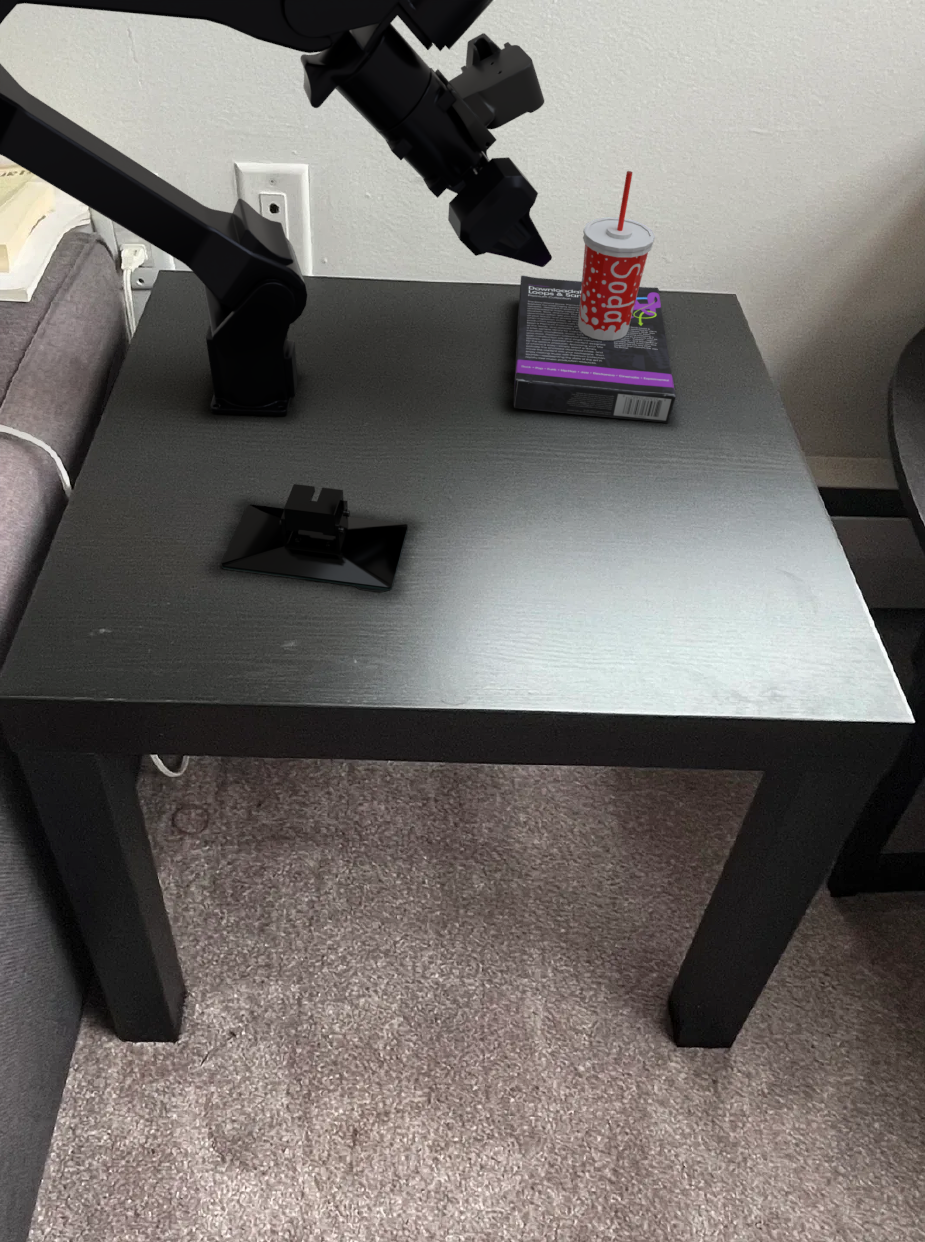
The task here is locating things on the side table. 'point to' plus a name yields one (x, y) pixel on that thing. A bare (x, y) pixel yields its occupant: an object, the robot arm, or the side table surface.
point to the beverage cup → (612, 272)
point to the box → (590, 357)
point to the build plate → (317, 542)
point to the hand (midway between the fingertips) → (529, 236)
